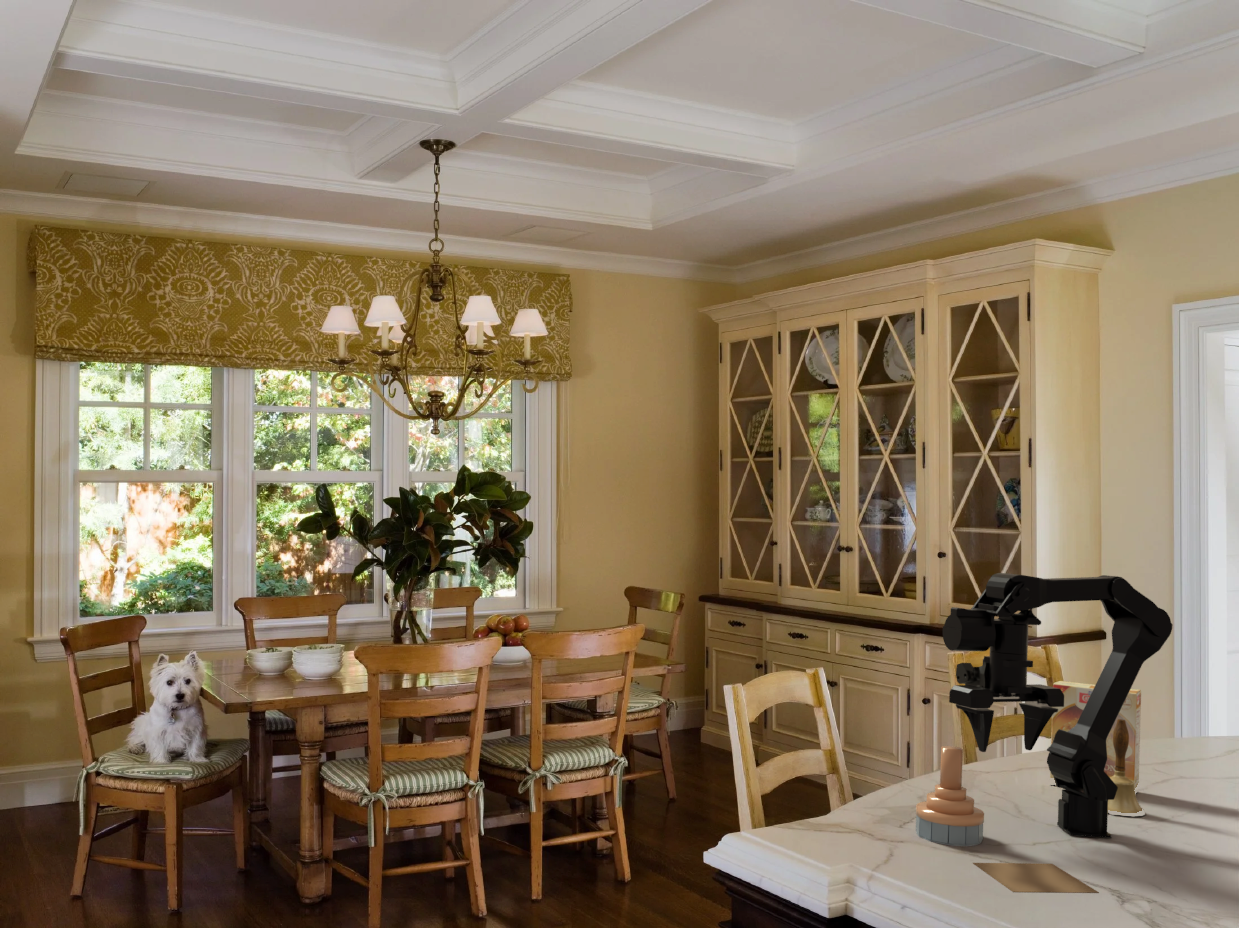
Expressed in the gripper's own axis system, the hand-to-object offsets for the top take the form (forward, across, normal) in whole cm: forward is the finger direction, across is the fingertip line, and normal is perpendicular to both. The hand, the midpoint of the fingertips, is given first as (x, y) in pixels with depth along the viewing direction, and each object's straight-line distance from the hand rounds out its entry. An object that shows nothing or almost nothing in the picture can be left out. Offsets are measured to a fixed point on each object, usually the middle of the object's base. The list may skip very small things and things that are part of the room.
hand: (1005, 750), depth 173 cm
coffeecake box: (+13, -41, -22) cm, 48 cm away
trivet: (+13, +13, +20) cm, 27 cm away
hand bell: (+13, -32, -7) cm, 35 cm away
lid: (+10, +12, +1) cm, 15 cm away
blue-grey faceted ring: (+13, +12, +1) cm, 17 cm away
